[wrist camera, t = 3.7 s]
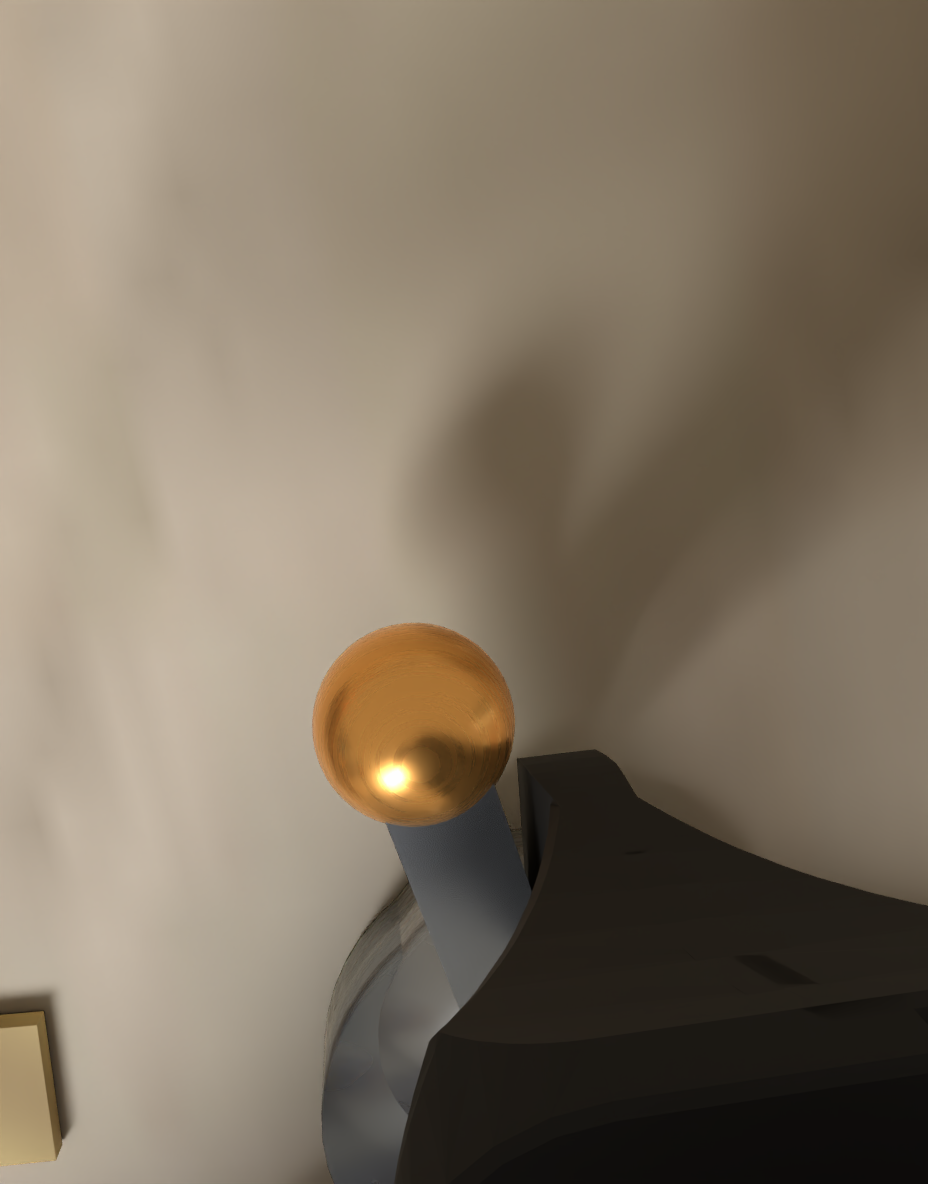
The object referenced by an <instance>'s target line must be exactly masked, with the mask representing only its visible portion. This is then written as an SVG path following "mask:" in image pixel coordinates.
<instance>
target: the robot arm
mask: <svg viewBox="0 0 928 1184" xmlns="http://www.w3.org/2000/svg"><path fill="white" fill-rule="evenodd" d="M517 766H518V781H519V796H520V811H521V826H522V841H523V856H524V870H525V873H526V876H527V879H528V881H529V884H530V887H531V890H532V893H531V896H530V898H529V901H528V904H527V906H526V908H525V910H524V912H523V915H522V917H521V919H520V921H519V923H518V925H517V927H516V929H515V931H514V934H513V935H512V937H511V939H510V941H509V943H508V944H507V946H506V948H505V950H504V951H503V953H502V954H501V956H500V957H499V959H498V960H497V962H496V963H495V965H494V966H493V967H492V969H491V970H490V972H489V973H488V975H487V976H486V978H485V979H484V981H483V982H482V983H481V985H480V986H479V988H478V989H477V991H476V992H475V993H474V994H473V995H472V997H471V998H470V999H469V1000H468V1002H467V1003H466V1004H465V1005H464V1006H463V1007H462V1008H461V1009H460V1010H459V1011H458V1012H457V1013H456V1014H455V1015H454V1016H453V1017H452V1019H451V1020H450V1021H449V1022H448V1023H447V1024H446V1025H445V1026H444V1027H442V1028H441V1029H440V1030H439V1031H438V1032H437V1033H436V1034H435V1035H434V1036H433V1037H432V1038H431V1039H430V1041H429V1043H428V1046H427V1050H426V1053H425V1056H424V1060H423V1063H422V1067H421V1070H420V1073H419V1077H418V1080H417V1084H416V1087H415V1091H414V1094H413V1098H412V1102H411V1106H410V1110H409V1114H408V1118H407V1122H406V1126H405V1130H404V1134H403V1139H402V1144H401V1148H400V1153H399V1158H398V1163H397V1169H396V1175H395V1181H394V1184H928V906H926V905H921V904H916V903H912V902H908V901H903V900H899V899H895V898H891V897H886V896H882V895H878V894H874V893H870V892H866V891H863V890H859V889H856V888H852V887H849V886H845V885H842V884H838V883H835V882H831V881H828V880H824V879H821V878H817V877H814V876H811V875H808V874H805V873H802V872H799V871H796V870H793V869H790V868H787V867H785V866H782V865H779V864H777V863H774V862H772V861H769V860H767V859H764V858H761V857H759V856H756V855H754V854H751V853H748V852H746V851H743V850H741V849H738V848H736V847H734V846H731V845H729V844H727V843H725V842H722V841H720V840H718V839H716V838H714V837H712V836H710V835H708V834H706V833H703V832H701V831H699V830H697V829H695V828H693V827H691V826H689V825H687V824H685V823H683V822H681V821H679V820H677V819H676V818H674V817H672V816H670V815H668V814H666V813H665V812H663V811H661V810H659V809H657V808H656V807H654V806H652V805H650V804H649V803H647V802H645V801H643V800H642V799H640V798H638V797H637V796H636V794H635V793H634V791H633V789H632V788H631V786H630V784H629V783H628V781H627V779H626V778H625V776H624V775H623V773H622V771H621V770H620V768H619V767H618V765H617V764H616V763H615V762H614V761H612V760H611V759H610V758H609V757H607V756H606V755H604V754H603V753H601V752H599V751H597V750H586V751H578V752H569V753H561V754H552V755H544V756H535V757H527V758H518V759H517Z"/></svg>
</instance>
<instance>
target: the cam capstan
mask: <svg viewBox="0 0 928 1184" xmlns="http://www.w3.org/2000/svg"><path fill="white" fill-rule="evenodd" d="M312 726H313V741H314V747H315V752H316V755H317V758H318V761H319V764H320V766H321V768H322V770H323V772H324V774H325V776H326V778H327V780H328V781H329V783H330V784H331V786H332V787H333V788H334V790H335V791H336V792H337V793H338V794H339V795H340V796H341V797H342V798H343V799H344V800H345V801H346V802H347V803H348V804H349V805H351V806H352V807H353V808H354V809H356V810H357V811H359V812H361V813H362V814H364V815H366V816H368V817H370V818H372V819H374V820H377V821H380V822H383V823H386V825H387V827H388V830H389V832H390V835H391V837H392V840H393V842H394V845H395V848H396V850H397V853H398V855H399V858H400V860H401V863H402V865H403V868H404V870H405V873H406V875H407V878H408V880H409V883H408V884H407V886H406V887H405V888H404V889H403V891H402V892H401V893H400V894H399V896H398V897H397V898H396V899H395V900H394V901H393V902H392V903H391V904H390V905H389V906H388V907H387V908H386V909H385V910H384V911H383V912H382V913H381V914H380V915H379V916H378V917H377V918H376V919H375V921H374V922H373V923H372V924H371V925H370V927H369V928H368V929H367V930H366V932H365V933H364V934H363V935H362V937H361V938H360V939H359V941H358V943H357V944H356V946H355V948H354V949H353V951H352V952H351V954H350V956H349V957H348V959H347V961H346V962H345V965H344V967H343V969H342V972H341V974H340V976H339V978H338V981H337V983H336V985H335V988H334V992H333V995H332V999H331V1003H330V1006H329V1010H328V1016H327V1024H326V1032H325V1047H324V1070H323V1093H322V1138H323V1145H324V1150H325V1155H326V1160H327V1165H328V1168H329V1171H330V1174H331V1176H332V1179H333V1182H334V1184H394V1181H395V1175H396V1169H397V1163H398V1158H399V1153H400V1148H401V1144H402V1139H403V1134H404V1130H405V1126H406V1122H407V1118H408V1114H409V1110H410V1106H411V1102H412V1098H413V1094H414V1091H415V1087H416V1084H417V1080H418V1077H419V1073H420V1070H421V1067H422V1063H423V1060H424V1056H425V1053H426V1050H427V1046H428V1043H429V1041H430V1039H431V1038H432V1037H433V1036H434V1035H435V1034H436V1033H437V1032H438V1031H439V1030H440V1029H441V1028H442V1027H444V1026H445V1025H446V1024H447V1023H448V1022H449V1021H450V1020H451V1019H452V1017H453V1016H454V1015H455V1014H456V1013H457V1012H458V1011H459V1010H460V1009H461V1008H462V1007H463V1006H464V1005H465V1004H466V1003H467V1002H468V1000H469V999H470V998H471V997H472V995H473V994H474V993H475V992H476V991H477V989H478V988H479V986H480V985H481V983H482V982H483V981H484V979H485V978H486V976H487V975H488V973H489V972H490V970H491V969H492V967H493V966H494V965H495V963H496V962H497V960H498V959H499V957H500V956H501V954H502V953H503V951H504V950H505V948H506V946H507V944H508V943H509V941H510V939H511V937H512V935H513V934H514V931H515V929H516V927H517V925H518V923H519V921H520V919H521V917H522V915H523V912H524V910H525V908H526V906H527V904H528V901H529V898H530V896H531V893H532V890H531V887H530V884H529V881H528V879H527V876H526V873H525V870H524V856H523V841H522V831H511V830H510V828H509V825H508V822H507V819H506V816H505V814H504V811H503V808H502V805H501V802H500V799H499V797H498V794H497V791H496V788H495V785H496V783H497V781H498V780H499V778H500V777H501V775H502V773H503V771H504V769H505V766H506V764H507V762H508V760H509V757H510V753H511V750H512V746H513V740H514V730H515V716H514V708H513V703H512V699H511V695H510V692H509V689H508V686H507V684H506V682H505V679H504V677H503V676H502V674H501V672H500V670H499V669H498V667H497V666H496V665H495V663H494V662H493V661H492V660H491V658H490V657H489V656H488V655H487V654H486V653H485V652H484V651H483V650H482V649H481V648H480V647H479V646H478V645H477V644H475V643H474V642H472V641H471V640H470V639H468V638H466V637H464V636H463V635H461V634H459V633H457V632H455V631H453V630H450V629H447V628H445V627H441V626H437V625H433V624H425V623H403V624H396V625H391V626H388V627H384V628H381V629H378V630H376V631H374V632H371V633H369V634H367V635H366V636H364V637H362V638H360V639H359V640H357V641H356V642H355V643H353V644H352V645H351V646H349V647H348V648H347V649H346V650H345V651H344V652H343V653H342V654H341V655H340V656H339V657H338V658H337V659H336V661H335V662H334V663H333V665H332V666H331V667H330V669H329V670H328V672H327V674H326V675H325V677H324V679H323V681H322V683H321V686H320V688H319V691H318V694H317V697H316V701H315V705H314V710H313V719H312Z"/></svg>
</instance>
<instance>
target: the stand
mask: <svg viewBox="0 0 928 1184" xmlns="http://www.w3.org/2000/svg"><path fill="white" fill-rule="evenodd" d="M61 1146H62V1139H61V1131H60V1124H59V1117H58V1110H57V1103H56V1096H55V1088H54V1081H53V1074H52V1067H51V1060H50V1053H49V1045H48V1038H47V1031H46V1024H45V1017H44V1011H40V1012H28V1013H17V1014H5V1015H0V1166H8V1165H17V1164H27V1163H36V1162H46V1161H55V1160H56V1159H57V1157H58V1154H59V1151H60V1149H61Z"/></svg>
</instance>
